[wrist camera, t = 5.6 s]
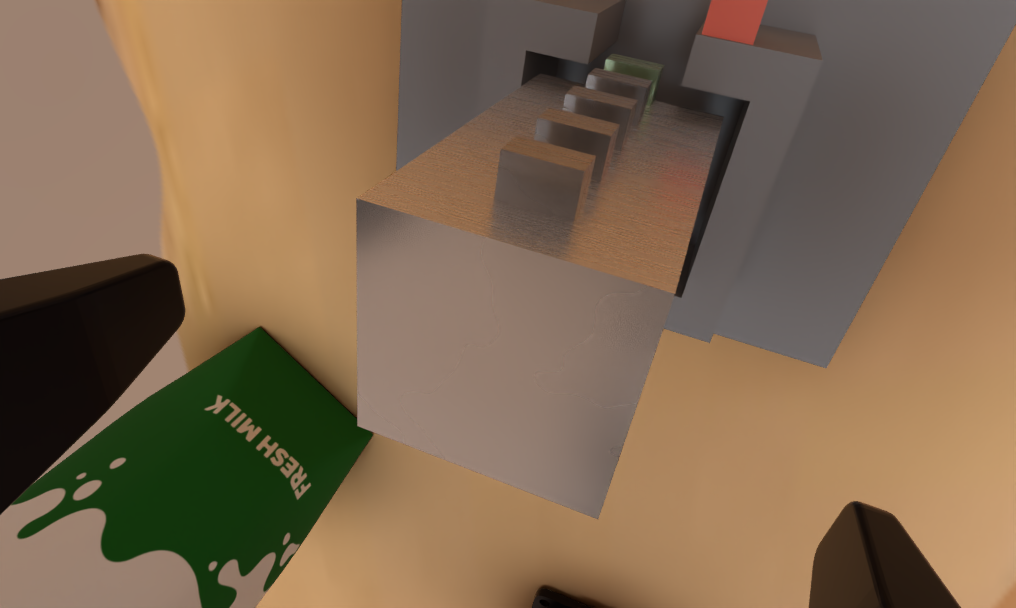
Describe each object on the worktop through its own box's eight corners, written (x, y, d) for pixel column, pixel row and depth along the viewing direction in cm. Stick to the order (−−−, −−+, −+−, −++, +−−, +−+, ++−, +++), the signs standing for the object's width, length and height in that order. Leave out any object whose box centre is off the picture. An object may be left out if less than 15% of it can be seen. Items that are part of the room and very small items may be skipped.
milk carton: (182, 387, 32) (-407, 857, 16) (255, 298, 27) (-515, 868, 11) (308, 502, 33) (-121, 1042, 17) (402, 439, 28) (-94, 1131, 12)
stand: (824, 349, 19) (833, 437, 16) (408, 222, 22) (345, 275, 19) (1020, -17, 13) (1095, 6, 10) (424, -120, 16) (338, -127, 13)
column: (670, 277, 15) (598, 518, 9) (516, 232, 16) (357, 425, 10) (735, 80, 13) (693, 238, 7) (546, 38, 13) (356, 143, 7)
